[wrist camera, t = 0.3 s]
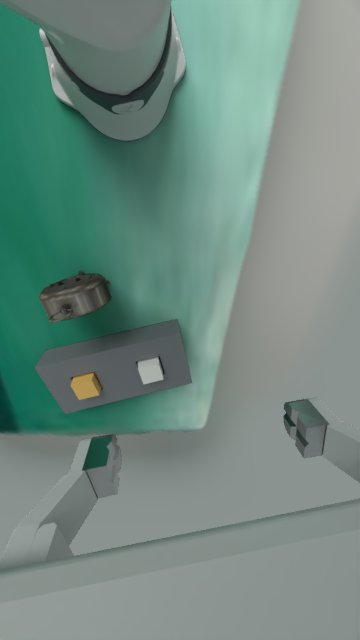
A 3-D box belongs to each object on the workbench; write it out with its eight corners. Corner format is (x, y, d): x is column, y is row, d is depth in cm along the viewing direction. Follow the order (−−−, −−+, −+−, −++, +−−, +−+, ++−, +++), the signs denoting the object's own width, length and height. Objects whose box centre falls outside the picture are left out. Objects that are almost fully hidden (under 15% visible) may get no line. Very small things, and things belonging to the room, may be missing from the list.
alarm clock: (63, 299, 48) (28, 345, 34) (50, 274, 45) (7, 312, 31) (116, 287, 48) (104, 327, 34) (107, 261, 45) (89, 293, 31)
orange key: (74, 375, 51) (70, 385, 48) (94, 370, 51) (91, 380, 48) (82, 389, 53) (79, 400, 50) (101, 385, 53) (99, 395, 50)
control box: (45, 350, 53) (34, 367, 47) (177, 318, 53) (180, 332, 48) (71, 394, 59) (64, 413, 54) (188, 366, 60) (192, 382, 55)
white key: (138, 359, 51) (137, 368, 48) (158, 355, 51) (158, 363, 48) (143, 374, 53) (143, 384, 50) (162, 370, 53) (163, 379, 51)
